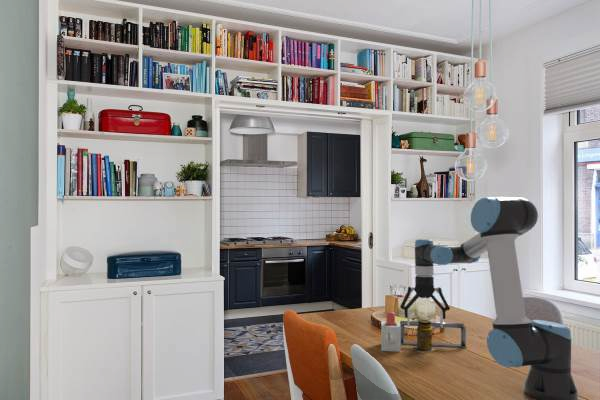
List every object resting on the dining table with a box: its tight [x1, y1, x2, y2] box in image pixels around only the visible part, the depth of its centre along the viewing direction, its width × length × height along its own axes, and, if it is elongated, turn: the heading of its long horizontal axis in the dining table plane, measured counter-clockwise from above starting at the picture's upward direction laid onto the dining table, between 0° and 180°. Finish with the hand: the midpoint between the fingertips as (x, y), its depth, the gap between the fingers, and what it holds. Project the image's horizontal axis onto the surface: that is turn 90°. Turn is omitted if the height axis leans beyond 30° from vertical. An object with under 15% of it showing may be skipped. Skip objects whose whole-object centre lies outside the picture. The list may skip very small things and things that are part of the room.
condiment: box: [409, 319, 437, 354], centre depth 201 cm, size 7×8×12 cm
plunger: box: [385, 311, 396, 326], centre depth 204 cm, size 4×4×9 cm
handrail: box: [399, 320, 467, 349], centre depth 207 cm, size 28×3×10 cm, turn 80°
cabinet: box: [380, 320, 402, 353], centre depth 203 cm, size 11×8×10 cm
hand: (424, 326), depth 201 cm, fingers open, 13 cm apart
